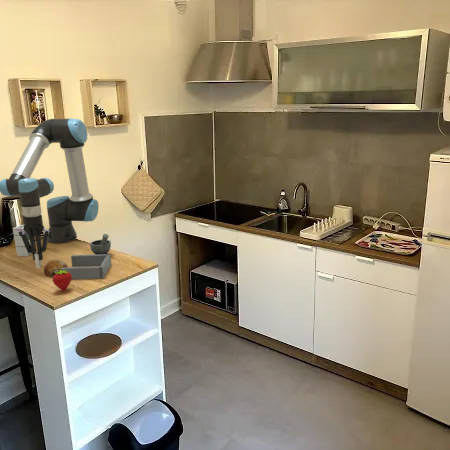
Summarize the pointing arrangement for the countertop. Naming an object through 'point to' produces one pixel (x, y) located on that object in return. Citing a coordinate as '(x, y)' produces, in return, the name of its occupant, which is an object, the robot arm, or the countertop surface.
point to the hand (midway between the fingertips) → (39, 266)
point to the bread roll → (54, 267)
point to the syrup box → (20, 241)
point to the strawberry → (62, 279)
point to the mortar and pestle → (101, 245)
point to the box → (89, 272)
